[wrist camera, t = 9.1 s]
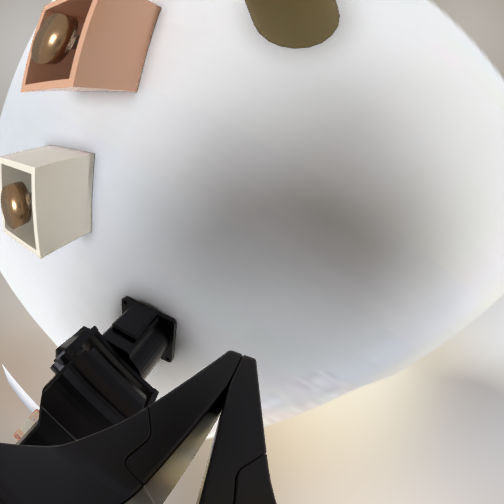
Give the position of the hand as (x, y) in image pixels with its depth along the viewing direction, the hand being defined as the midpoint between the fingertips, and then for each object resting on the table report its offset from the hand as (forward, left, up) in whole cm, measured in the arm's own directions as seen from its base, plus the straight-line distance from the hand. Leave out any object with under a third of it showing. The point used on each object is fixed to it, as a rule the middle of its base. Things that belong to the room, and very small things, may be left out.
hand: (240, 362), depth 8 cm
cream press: (-3, +23, -13) cm, 27 cm away
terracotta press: (+11, +19, -13) cm, 26 cm away
